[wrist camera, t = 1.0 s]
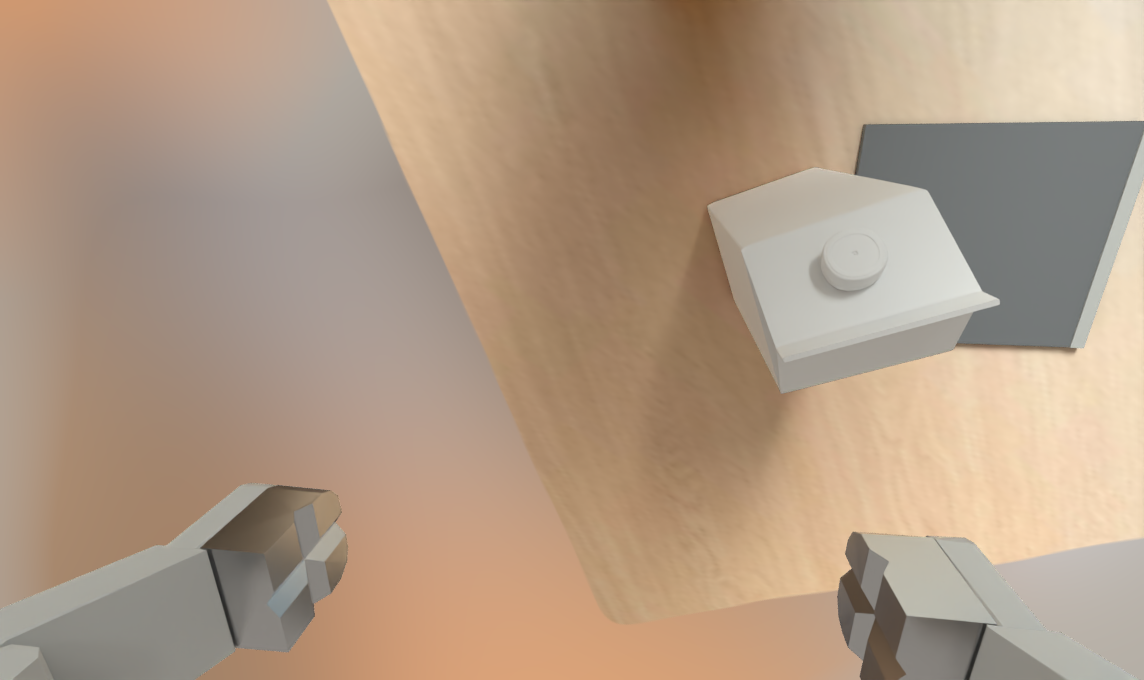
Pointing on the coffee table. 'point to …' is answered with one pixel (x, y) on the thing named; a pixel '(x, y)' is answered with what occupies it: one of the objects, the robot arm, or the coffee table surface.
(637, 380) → the coffee table surface
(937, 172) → the mat
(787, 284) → the milk carton
